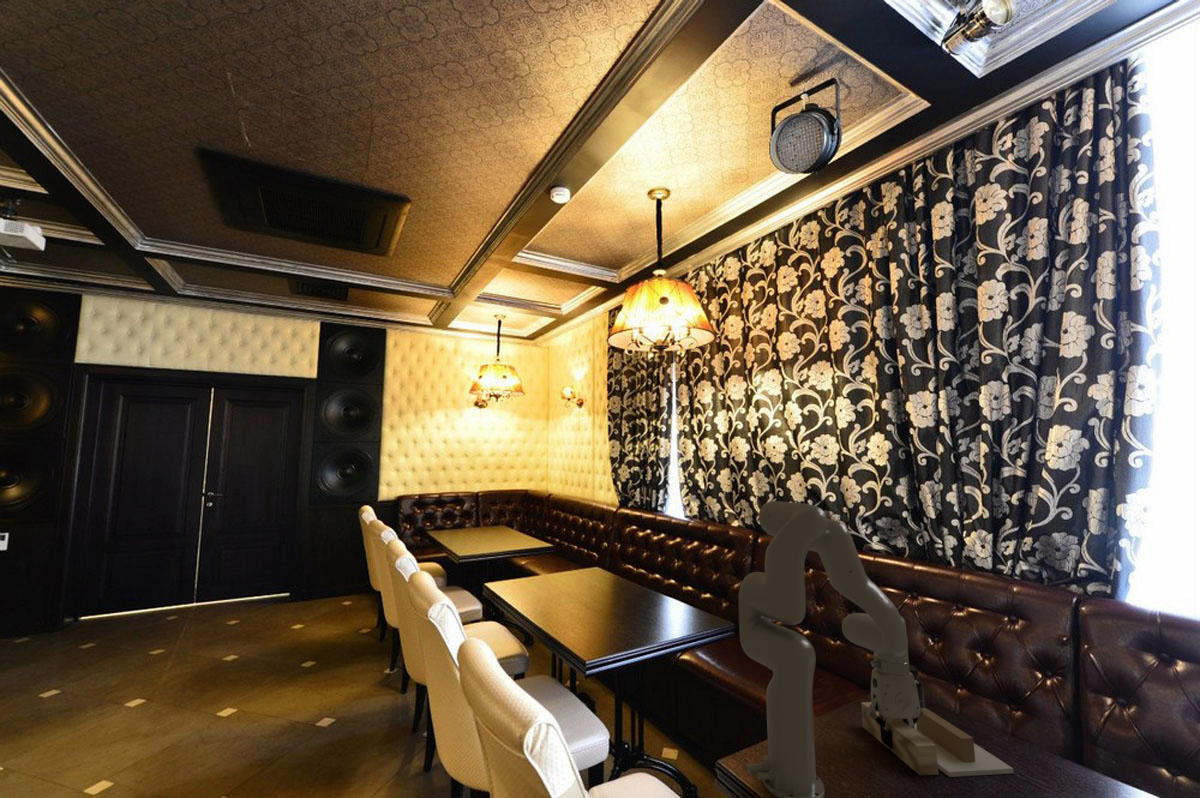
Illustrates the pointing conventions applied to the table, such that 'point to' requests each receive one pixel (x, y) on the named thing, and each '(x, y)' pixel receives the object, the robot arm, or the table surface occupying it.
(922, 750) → the birch beam
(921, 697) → the supplement bottle
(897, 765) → the table surface
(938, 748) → the board
